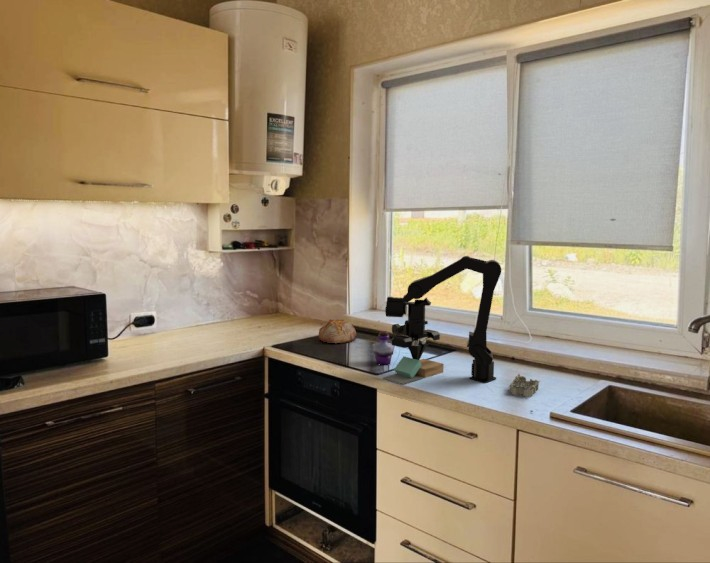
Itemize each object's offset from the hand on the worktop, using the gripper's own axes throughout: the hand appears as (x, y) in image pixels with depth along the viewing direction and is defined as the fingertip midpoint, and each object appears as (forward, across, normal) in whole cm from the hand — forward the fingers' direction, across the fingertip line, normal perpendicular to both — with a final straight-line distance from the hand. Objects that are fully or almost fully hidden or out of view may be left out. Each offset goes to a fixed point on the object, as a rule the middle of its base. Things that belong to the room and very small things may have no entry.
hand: (415, 363), depth 186 cm
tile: (+1, +3, -1) cm, 4 cm away
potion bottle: (+4, -2, -17) cm, 18 cm away
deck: (+4, -4, 0) cm, 6 cm away
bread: (+5, -16, -58) cm, 60 cm away
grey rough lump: (+4, -12, +34) cm, 37 cm away
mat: (+4, +7, 0) cm, 8 cm away
